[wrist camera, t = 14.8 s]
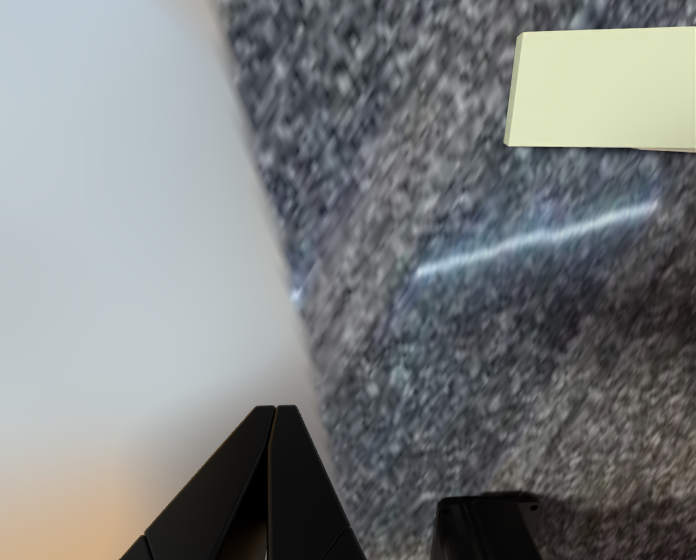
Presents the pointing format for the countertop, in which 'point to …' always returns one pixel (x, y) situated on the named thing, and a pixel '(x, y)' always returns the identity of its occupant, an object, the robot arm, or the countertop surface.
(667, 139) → the domino
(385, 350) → the countertop surface
